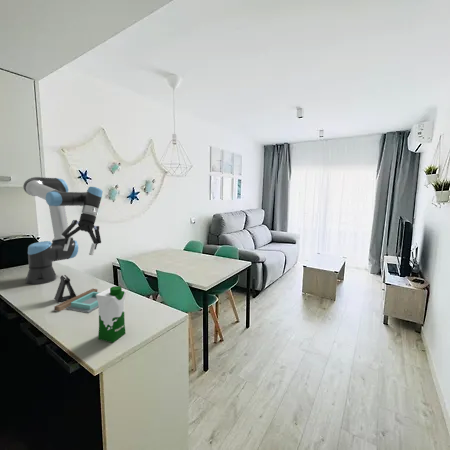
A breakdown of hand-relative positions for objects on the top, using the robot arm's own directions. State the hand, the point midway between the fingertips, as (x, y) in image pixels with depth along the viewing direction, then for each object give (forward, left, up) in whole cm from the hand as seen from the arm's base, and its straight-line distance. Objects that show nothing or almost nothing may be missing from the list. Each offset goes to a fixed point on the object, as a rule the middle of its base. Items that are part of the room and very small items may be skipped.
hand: (78, 253), depth 135 cm
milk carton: (+42, -28, -23) cm, 56 cm away
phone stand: (-3, -6, -23) cm, 24 cm away
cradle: (+13, -6, -23) cm, 27 cm away
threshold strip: (+5, -6, -23) cm, 24 cm away
